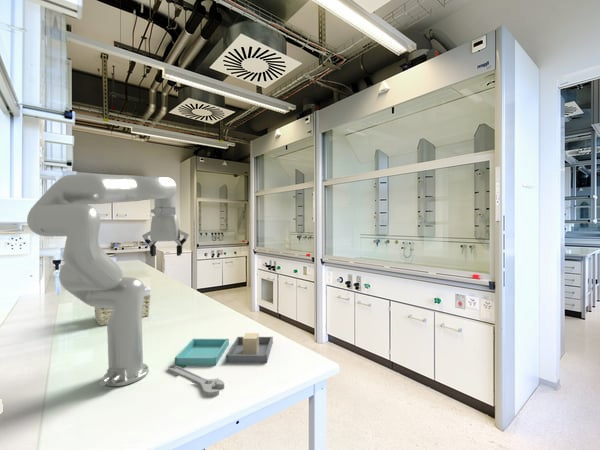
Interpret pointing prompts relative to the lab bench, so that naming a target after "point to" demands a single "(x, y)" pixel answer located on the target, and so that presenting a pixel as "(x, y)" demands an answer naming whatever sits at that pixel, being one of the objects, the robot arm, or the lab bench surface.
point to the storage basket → (104, 313)
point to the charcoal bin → (262, 356)
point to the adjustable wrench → (199, 380)
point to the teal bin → (202, 352)
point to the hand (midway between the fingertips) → (166, 255)
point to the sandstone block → (250, 343)
